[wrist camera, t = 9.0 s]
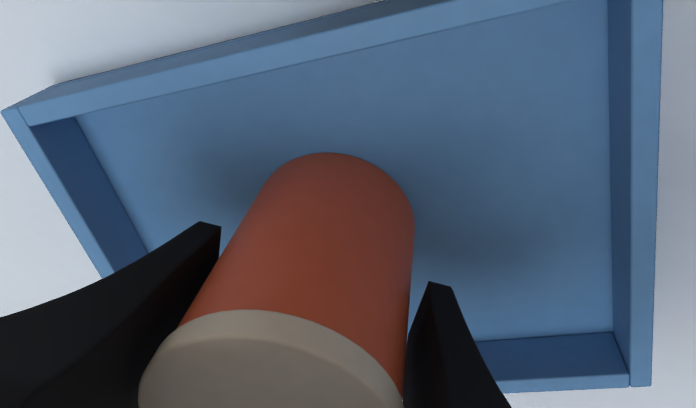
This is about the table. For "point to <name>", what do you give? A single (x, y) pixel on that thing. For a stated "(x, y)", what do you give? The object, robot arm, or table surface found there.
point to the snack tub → (299, 299)
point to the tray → (406, 159)
